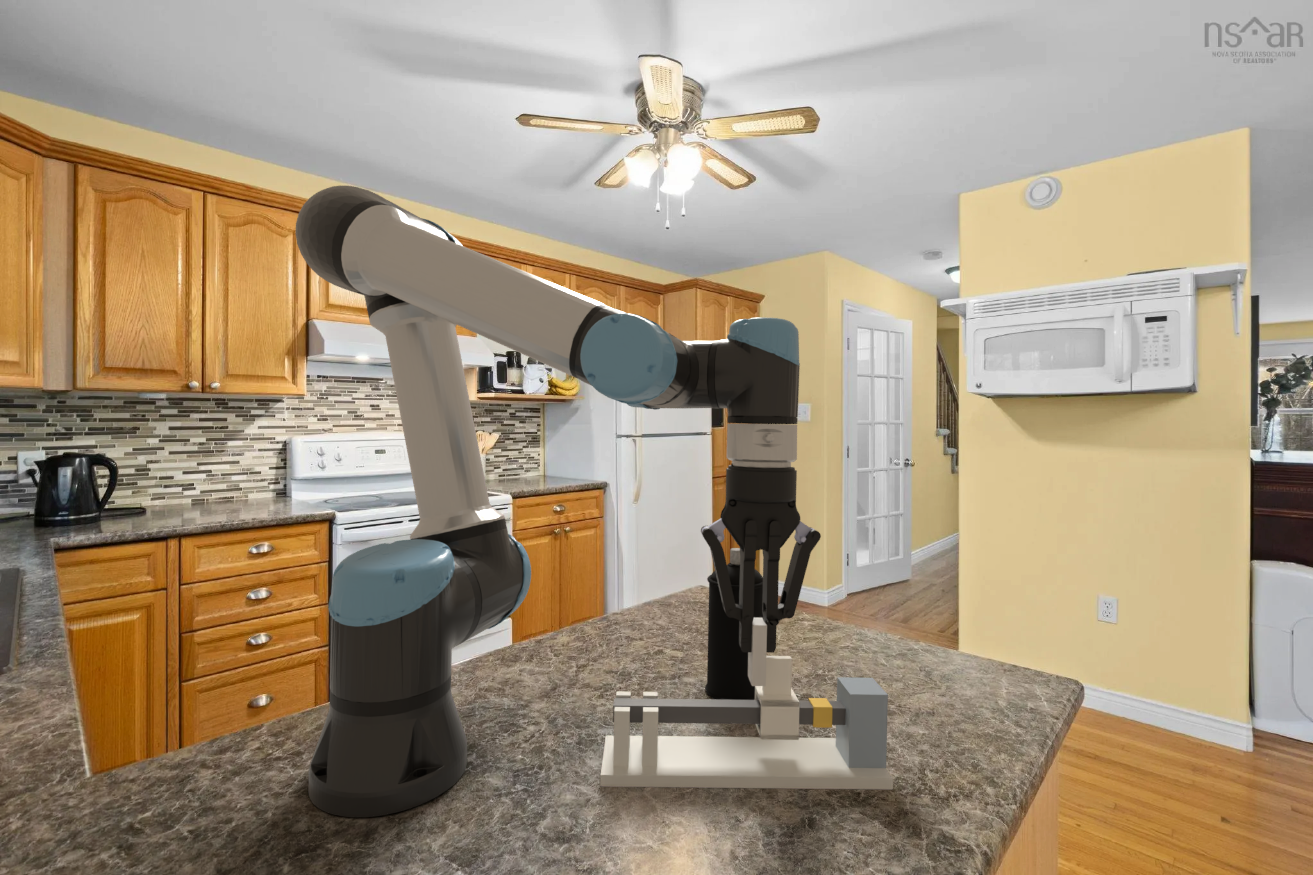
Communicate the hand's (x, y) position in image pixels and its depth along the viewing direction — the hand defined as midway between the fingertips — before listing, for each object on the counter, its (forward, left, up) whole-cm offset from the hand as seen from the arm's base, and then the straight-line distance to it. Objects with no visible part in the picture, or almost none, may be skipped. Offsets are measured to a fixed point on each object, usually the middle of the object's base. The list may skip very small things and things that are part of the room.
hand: (756, 680), depth 66 cm
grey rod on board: (-1, 0, -9) cm, 10 cm away
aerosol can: (+1, +19, -10) cm, 21 cm away
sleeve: (+2, 0, -5) cm, 6 cm away
